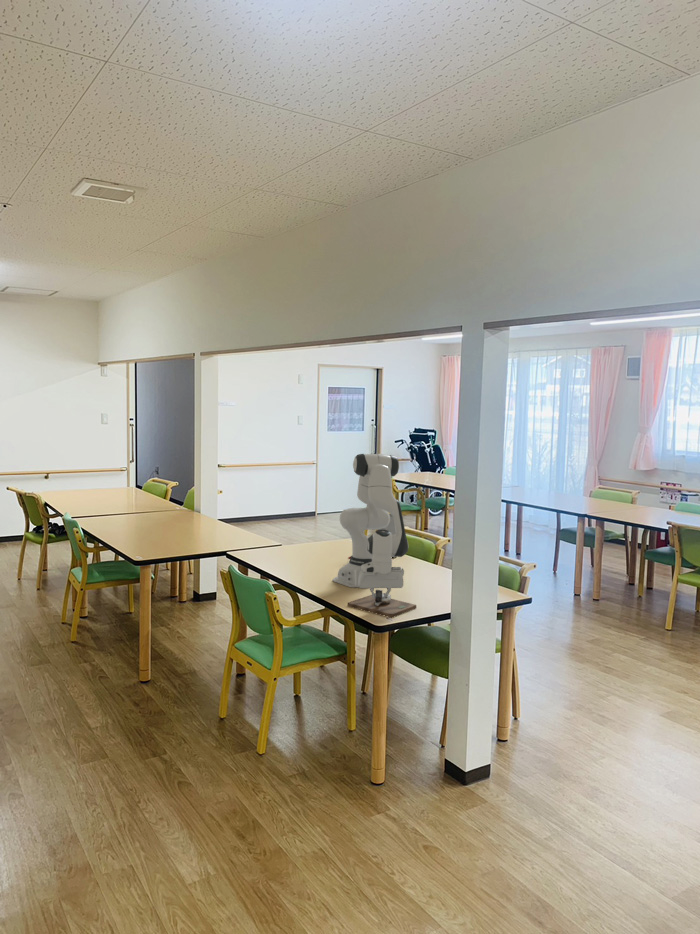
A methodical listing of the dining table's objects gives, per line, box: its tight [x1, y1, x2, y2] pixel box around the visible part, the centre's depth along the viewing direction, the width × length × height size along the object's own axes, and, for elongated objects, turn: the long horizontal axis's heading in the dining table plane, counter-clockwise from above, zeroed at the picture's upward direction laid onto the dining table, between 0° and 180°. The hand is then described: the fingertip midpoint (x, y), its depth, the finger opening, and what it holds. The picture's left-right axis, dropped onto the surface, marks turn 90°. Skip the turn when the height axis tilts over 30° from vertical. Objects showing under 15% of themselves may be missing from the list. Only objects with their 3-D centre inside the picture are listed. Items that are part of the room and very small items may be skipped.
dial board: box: [347, 594, 417, 619], centre depth 311 cm, size 24×20×2 cm
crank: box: [374, 589, 392, 606], centre depth 310 cm, size 14×7×7 cm, turn 162°
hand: (380, 597), depth 305 cm, fingers open, 4 cm apart
